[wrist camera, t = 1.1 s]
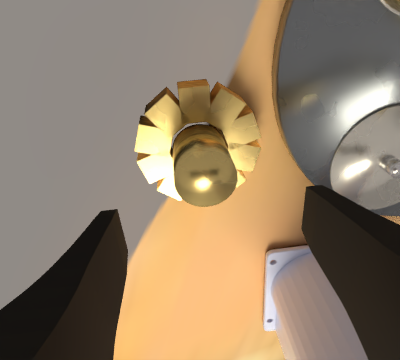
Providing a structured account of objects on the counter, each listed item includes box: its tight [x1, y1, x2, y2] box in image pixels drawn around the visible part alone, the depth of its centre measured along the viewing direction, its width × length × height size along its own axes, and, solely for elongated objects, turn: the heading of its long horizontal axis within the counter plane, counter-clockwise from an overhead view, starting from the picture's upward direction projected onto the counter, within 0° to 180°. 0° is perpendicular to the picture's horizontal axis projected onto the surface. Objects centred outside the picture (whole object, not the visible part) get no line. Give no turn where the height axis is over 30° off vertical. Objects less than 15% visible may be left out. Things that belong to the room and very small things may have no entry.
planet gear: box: [135, 79, 261, 207], centre depth 17 cm, size 7×7×5 cm
